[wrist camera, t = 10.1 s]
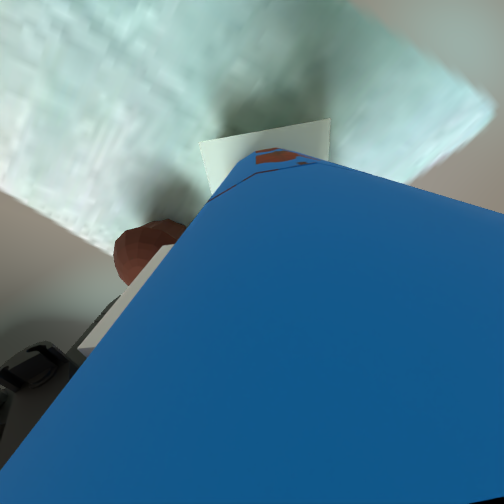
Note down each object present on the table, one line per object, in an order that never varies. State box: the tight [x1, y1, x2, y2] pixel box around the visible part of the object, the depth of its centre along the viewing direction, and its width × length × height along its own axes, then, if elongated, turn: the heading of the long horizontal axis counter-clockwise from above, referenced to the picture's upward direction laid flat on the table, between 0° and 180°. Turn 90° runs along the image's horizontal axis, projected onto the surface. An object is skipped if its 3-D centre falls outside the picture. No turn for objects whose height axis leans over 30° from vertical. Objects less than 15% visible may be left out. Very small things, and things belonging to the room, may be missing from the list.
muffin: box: [113, 219, 187, 286], centre depth 29 cm, size 12×11×10 cm
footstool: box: [198, 118, 331, 195], centre depth 26 cm, size 14×14×6 cm
